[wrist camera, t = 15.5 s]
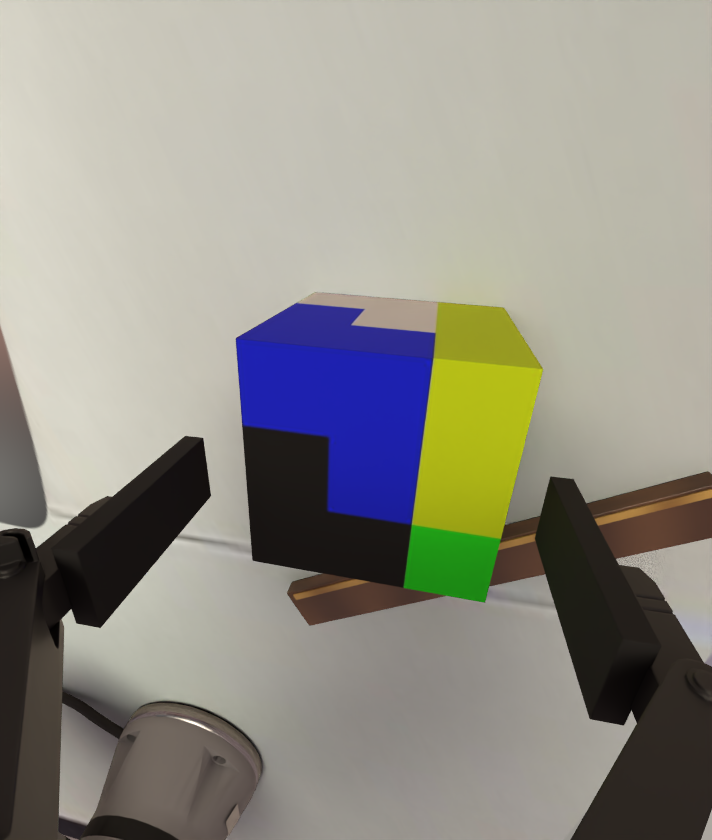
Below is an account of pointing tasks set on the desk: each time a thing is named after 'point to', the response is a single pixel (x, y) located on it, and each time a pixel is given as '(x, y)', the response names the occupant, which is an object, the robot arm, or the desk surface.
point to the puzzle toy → (385, 438)
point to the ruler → (518, 554)
